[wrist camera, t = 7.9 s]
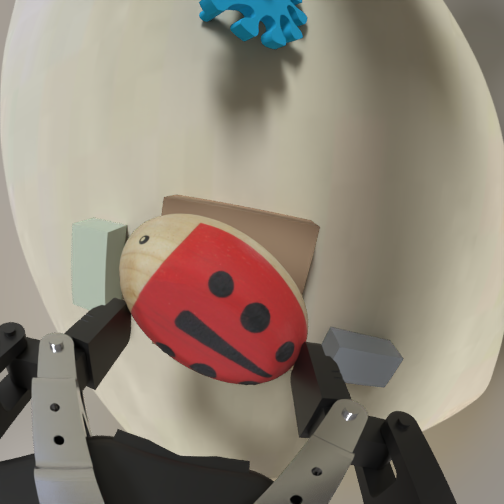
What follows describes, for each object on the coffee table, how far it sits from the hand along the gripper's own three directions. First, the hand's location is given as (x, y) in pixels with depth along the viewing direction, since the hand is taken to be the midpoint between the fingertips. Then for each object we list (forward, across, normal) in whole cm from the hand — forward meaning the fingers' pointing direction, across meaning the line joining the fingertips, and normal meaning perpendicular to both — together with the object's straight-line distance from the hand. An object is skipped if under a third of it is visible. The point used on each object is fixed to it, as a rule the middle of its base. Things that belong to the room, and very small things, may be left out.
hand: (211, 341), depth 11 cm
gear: (+8, +3, -20) cm, 22 cm away
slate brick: (+8, -11, +4) cm, 14 cm away
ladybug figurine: (+2, 0, -1) cm, 3 cm away
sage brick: (+8, +9, +1) cm, 12 cm away
